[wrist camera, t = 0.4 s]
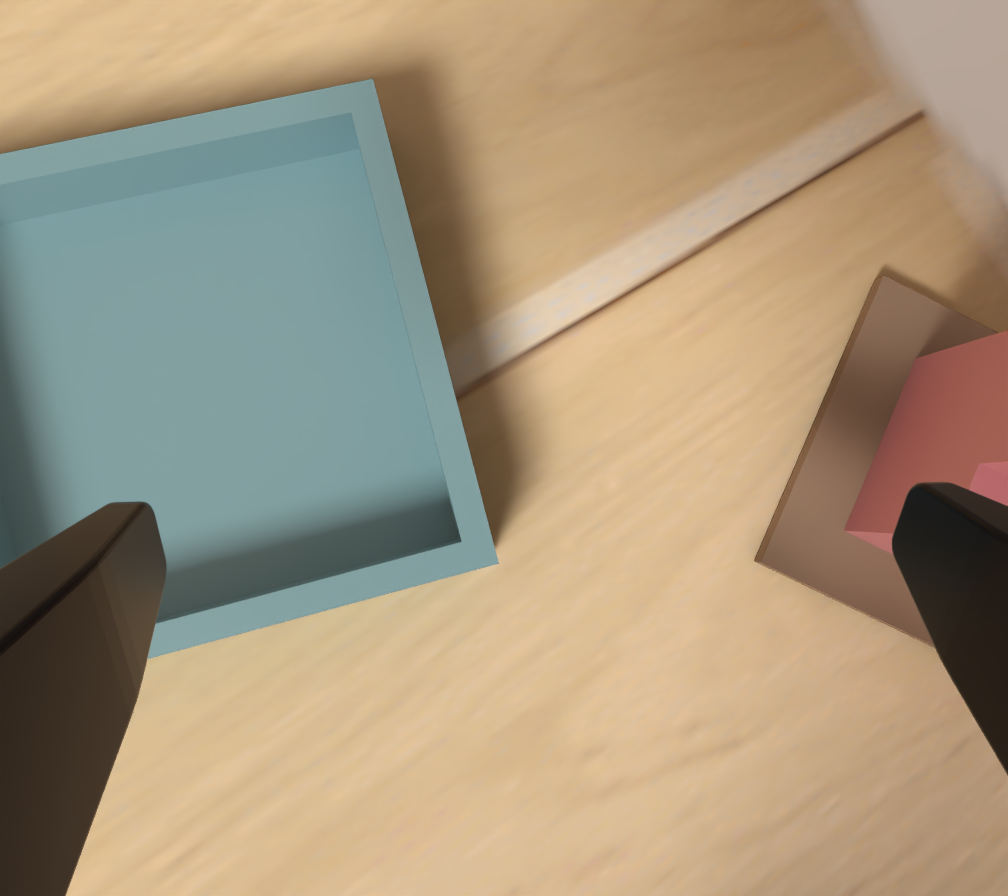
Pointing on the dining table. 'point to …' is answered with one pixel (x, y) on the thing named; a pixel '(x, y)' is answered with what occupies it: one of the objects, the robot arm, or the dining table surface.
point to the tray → (233, 362)
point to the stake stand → (859, 457)
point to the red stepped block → (940, 435)
